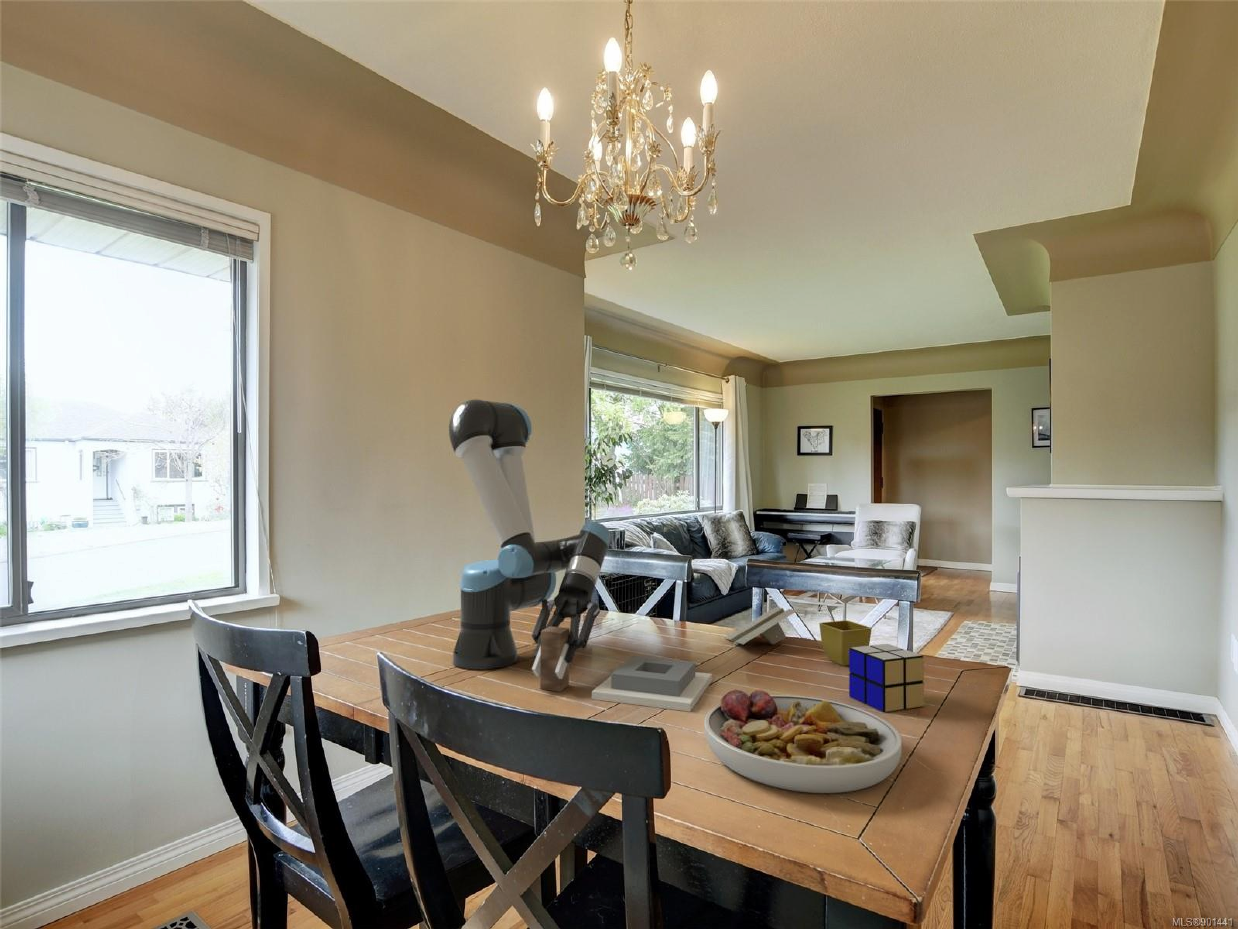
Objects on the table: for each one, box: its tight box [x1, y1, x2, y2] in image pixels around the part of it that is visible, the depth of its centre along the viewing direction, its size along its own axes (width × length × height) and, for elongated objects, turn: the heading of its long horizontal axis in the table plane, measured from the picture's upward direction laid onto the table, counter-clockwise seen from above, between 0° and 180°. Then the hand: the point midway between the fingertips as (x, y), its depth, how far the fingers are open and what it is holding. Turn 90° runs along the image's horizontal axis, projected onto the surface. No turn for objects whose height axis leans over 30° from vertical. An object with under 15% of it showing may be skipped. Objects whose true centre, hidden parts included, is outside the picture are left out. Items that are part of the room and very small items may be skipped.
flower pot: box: [819, 620, 872, 667], centre depth 158 cm, size 9×9×9 cm
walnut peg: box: [539, 626, 570, 692], centre depth 138 cm, size 4×4×12 cm
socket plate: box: [591, 655, 713, 713], centre depth 137 cm, size 20×20×4 cm
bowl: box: [704, 689, 903, 794], centre depth 105 cm, size 30×30×8 cm
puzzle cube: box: [848, 643, 925, 714], centre depth 130 cm, size 10×10×10 cm
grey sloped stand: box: [724, 606, 798, 646], centre depth 174 cm, size 19×10×17 cm
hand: (547, 674), depth 135 cm, fingers closed on walnut peg, 4 cm apart
